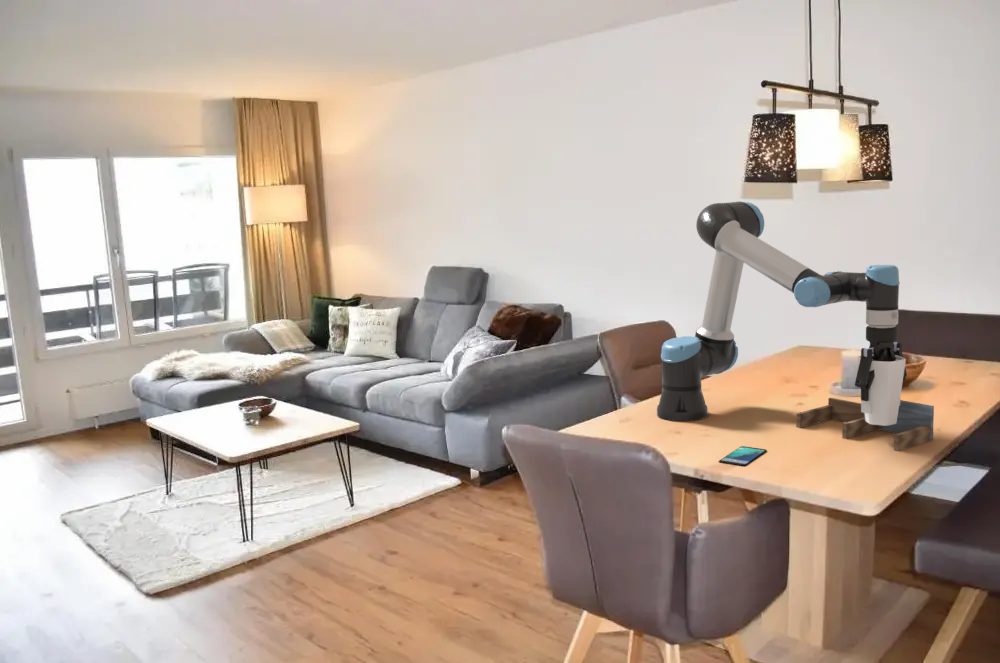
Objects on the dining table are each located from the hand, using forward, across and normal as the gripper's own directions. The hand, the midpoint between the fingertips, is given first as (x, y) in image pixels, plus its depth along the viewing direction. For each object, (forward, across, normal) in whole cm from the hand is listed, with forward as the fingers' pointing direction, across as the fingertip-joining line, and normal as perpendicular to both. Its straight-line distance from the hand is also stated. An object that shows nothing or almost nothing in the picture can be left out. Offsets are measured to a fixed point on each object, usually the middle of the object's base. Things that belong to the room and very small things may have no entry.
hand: (880, 408), depth 214 cm
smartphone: (+9, -36, +14) cm, 40 cm away
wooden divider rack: (+9, +3, +8) cm, 12 cm away
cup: (+4, 0, 0) cm, 4 cm away
